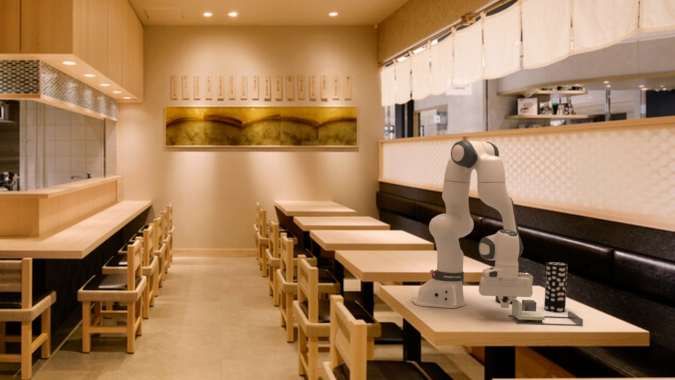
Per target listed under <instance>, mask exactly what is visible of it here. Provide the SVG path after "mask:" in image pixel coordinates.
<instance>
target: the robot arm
mask: <svg viewBox="0 0 675 380" xmlns="http://www.w3.org/2000/svg"><path fill="white" fill-rule="evenodd" d="M503 162H504V161H503V160H502V159H501V157H500V151H499V149H498V147H497V146H496V145H495V144H494V143H492V142H489V141H484V140H476V139H475V140H465V139H463V140H458V141H456V142H454V143H453V145H452V147H451V149H450V157H449V159H448V160H447V165H446V167H445V171H444V179H443V186H442V194H441V197H442V200H443V202H444V205H445V213H440V214H438V215H436V216H434V217H433V218H431V220H430V222H429V225H428V230H429V233H430V234H431V235H432V237H433V238H434V243H435V246H436V252H437V253H436V254H437V256H436V257H437V258H436V259H437V260H436V261H437V262H436V269H435V270H434V269H430V270H429V273H430V275H431V278H430V279H429V280H428V281H426V282H425V283H424V284H422V285H421V286H419V289H418V292H417V296H414V297H412V300H411V301H412V303H413V304H414V305H416V306H419V307H420V306H421V307H431V308H432V307H433V308H445V309H446V308H447V309H455V308H459V307H463V306H466V301H465V295H464V282H465V271H464V258H465V257H464V256H465V255H464V251H463V250H462V249H461V245H460V241H459V239H460V238H464V237H466V236H467V235H469V234H471V232H472V231H473V229H474V226H475V225H474V224H475V223H474V220H473V218H472V217H471V212H470V205H469V195H470V188H471V176H472V172H473V171H474V170H475V172H476V175H477V176H476V179H477V181H476V182H477V183H476V185H477V186H476V187H477V196H478V198H479V199H480V200H481V202H482V203H484V204H485V205H487V206H488V207H490V208H493V209H495V210H496V211H498V212H499V214H500V216H501V219H502V226H503V229H499V230H498V231H497V232H496V233H495V234H492V235H488V236H483V237H482V238H481V239H480V241H479V243H478V253H479V255H480V257H481V258H482V259H484V260H485V261H495V262H494V266H490V267H487V268H483V270H482V276H481V278H480V279H479V285H478V292H479V294H480V295H481V296H484V297H496V296H498V299H499V301H500V302H501V303H500V308H501V309H504V308H505V309H509V308H510V305H511V304H510V302H511V301H512V299H513V297H519V298H532V296H533V292H534V291H533V281H534V276H533V275H532V274H530V272H519V266H520V265H519V264H520V263H519V258H520V257H521V255H522V253H523V250H524V245H523V241H522V238H521V237H520V232H519V225H518V219H517V213H516V209H515V204H514V201H513V199H512V197H510V195H509V193H508V191H507V185H506V183H507V182H506V173H505V167H504V163H503ZM503 296H508V301H507V303H504V302H503V301H502V299H503Z"/></svg>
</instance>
